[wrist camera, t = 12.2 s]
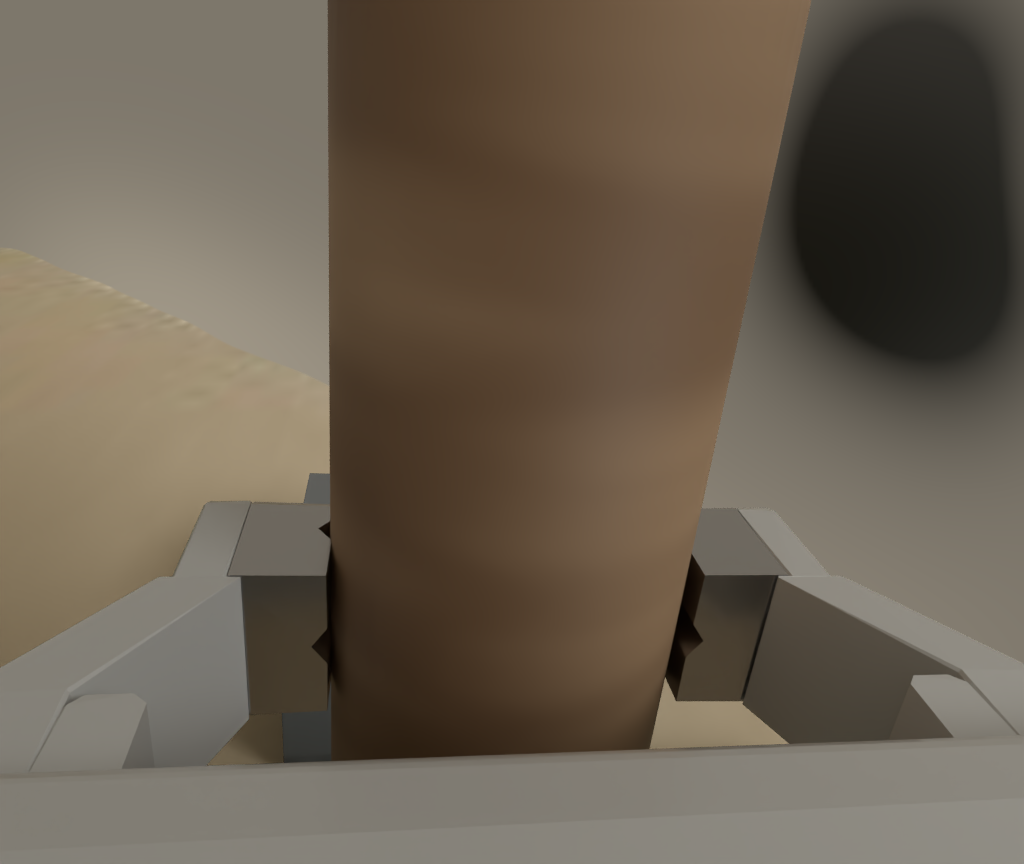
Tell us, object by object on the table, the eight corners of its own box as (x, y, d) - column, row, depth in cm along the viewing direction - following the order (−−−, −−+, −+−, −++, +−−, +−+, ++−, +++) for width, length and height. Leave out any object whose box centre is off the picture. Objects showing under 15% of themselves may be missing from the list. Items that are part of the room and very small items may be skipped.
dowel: (279, 1090, 12) (213, -116, 6) (434, 897, 16) (504, -28, 9) (487, 1292, 11) (726, -142, 4) (616, 1026, 14) (865, -20, 7)
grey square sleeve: (284, 772, 21) (278, 621, 19) (311, 598, 28) (310, 473, 26) (561, 761, 22) (585, 618, 20) (523, 597, 29) (537, 477, 27)
